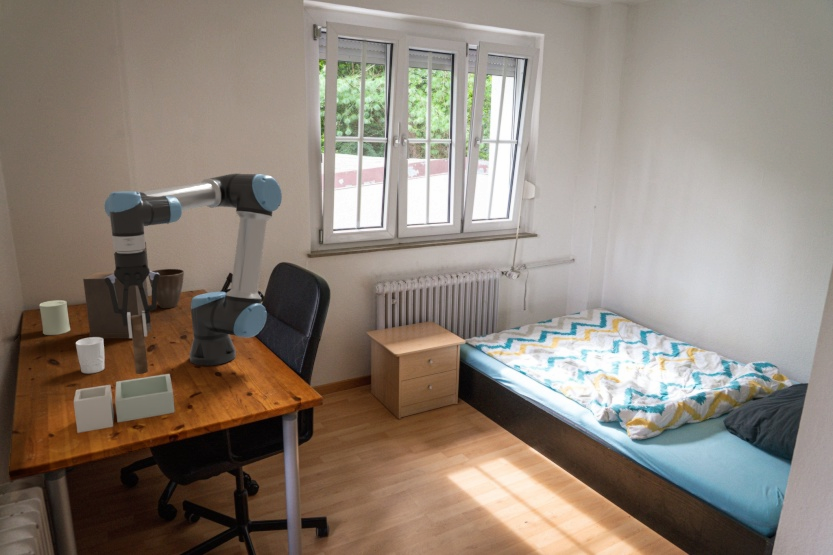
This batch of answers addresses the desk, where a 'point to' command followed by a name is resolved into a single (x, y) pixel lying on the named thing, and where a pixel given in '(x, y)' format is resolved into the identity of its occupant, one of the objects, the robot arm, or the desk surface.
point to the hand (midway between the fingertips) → (138, 335)
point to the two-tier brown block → (110, 306)
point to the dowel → (139, 344)
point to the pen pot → (93, 408)
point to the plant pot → (169, 287)
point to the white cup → (91, 354)
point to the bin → (144, 397)
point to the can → (54, 317)
